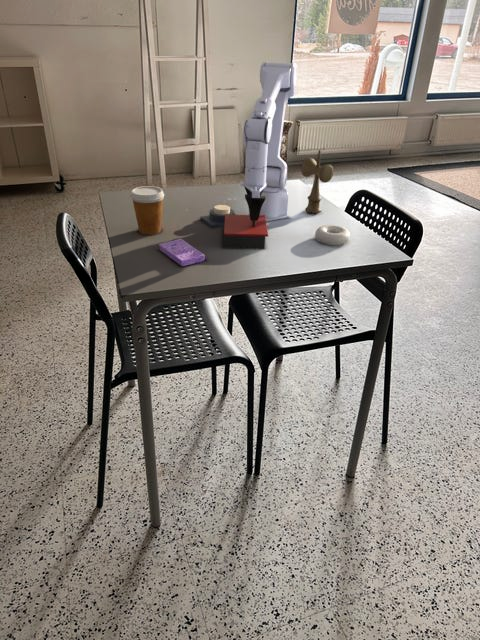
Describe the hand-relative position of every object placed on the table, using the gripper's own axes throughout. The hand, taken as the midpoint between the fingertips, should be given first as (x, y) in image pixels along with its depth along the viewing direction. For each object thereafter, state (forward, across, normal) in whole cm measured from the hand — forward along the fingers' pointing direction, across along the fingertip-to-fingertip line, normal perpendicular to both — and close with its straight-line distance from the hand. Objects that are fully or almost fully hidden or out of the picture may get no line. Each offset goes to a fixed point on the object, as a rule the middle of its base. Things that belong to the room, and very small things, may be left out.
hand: (253, 215), depth 140 cm
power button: (+4, -13, -9) cm, 17 cm away
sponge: (+7, +13, -19) cm, 24 cm away
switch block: (+7, -14, -9) cm, 18 cm away
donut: (+7, 0, +23) cm, 24 cm away
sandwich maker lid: (+3, 0, -2) cm, 4 cm away
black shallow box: (+7, 0, -3) cm, 7 cm away
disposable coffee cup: (+7, -4, -30) cm, 31 cm away
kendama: (+7, -24, +21) cm, 32 cm away
